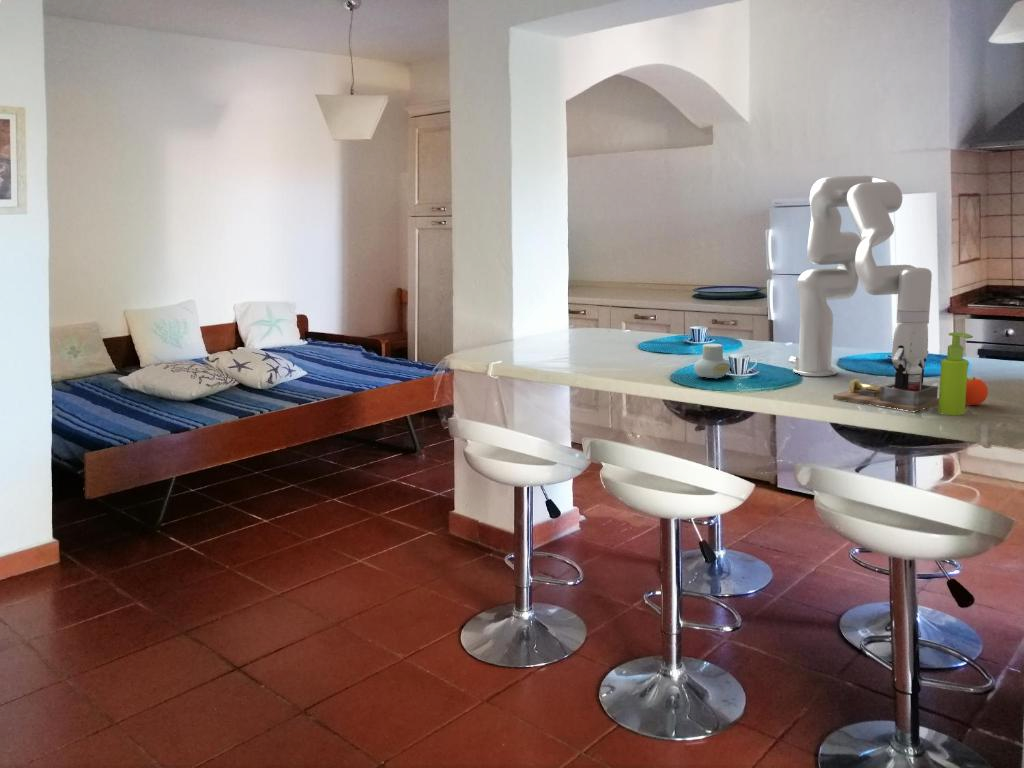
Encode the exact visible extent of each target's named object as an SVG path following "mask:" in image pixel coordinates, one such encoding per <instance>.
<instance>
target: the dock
mask: <svg viewBox="0 0 1024 768" xmlns="http://www.w3.org/2000/svg"><path fill="white" fill-rule="evenodd" d="M882 386H883V385H882ZM938 388H939V387H938V385H937V386H936V385H931V384H930V385H929V384H924V383H923V384H922V385H921V390H920V391H917V392H915V391H908V390H902V389H895V382H894V383H891V384H886V385H884V386H883V387H881V388H880V394H879V393H876V391H870V390H863V389H861V390H859V391H856V392H850V389H849V390H846V391H843V392H842V391H841V392H839V393H836V394H835V393H834V394H833V396H832V397H833V398H832V399H833V400H835V399H839V400H838V401H841V400H846V401H845V402H847V401H851V402H850V403H853V402H857V403H856V404H858V403H863V404H862V405H864V404H871V405H879V406H885V407H891V408H896V409H897V408H898V409H903V410H908V411H916V410H919V411H921V410H920V409H922V410H924V409H923V408H925V409H927V407H928V408H931V407H933V405H934V406H936V405H939V397H938V394H939V393H938V391H939V390H938ZM930 406H931V407H930Z"/></svg>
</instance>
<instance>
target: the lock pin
mask: <svg viewBox="0 0 1024 768" xmlns="http://www.w3.org/2000/svg"><path fill="white" fill-rule="evenodd" d="M860 381H861V380H860V379H858V378H855V379H852V380H851V379H850V380H849V390H850V392H856V391H859V390H861V389H863V390H870V391H876V393H879V394H880V388H881V387H883V385H877V384H870V383H865V382H864V383H862V382H860Z"/></svg>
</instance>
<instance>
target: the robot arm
mask: <svg viewBox="0 0 1024 768" xmlns="http://www.w3.org/2000/svg"><path fill="white" fill-rule="evenodd" d="M902 203H903V193H902V191H901V188H900V187H899V185H898V184H897V183H895V182H893V181H891V180H888V179H884V178H880V177H876V176H874V175H873V176H872V175H844V176H843V175H841V176H838V175H837V176H828V177H827V176H826V177H822V178H820V179H818V180H817V181H815V182H814V183H813V185H812V187H811V189H810V193H809V207H810V223H809V224H810V225H809V230H808V231H809V232H808V239H807V240H808V241H807V250H806V256H807V259H808V260H807V261H808V262H810V263H811V264H812V265H817V266H828V265H829V266H830V265H837V267H822V268H821V267H819V268H812V269H811V268H810V269H807V270H805V271H803V272H801V274H800V275H799V276H798V279H797V282H796V283H797V284H796V286H797V294H798V299H799V300H798V301H799V336H798V337H799V338H798V339H799V341H798V342H799V344H798V356H790V357H789V359H788V363H789V364H791V365H795V366H794V367H792V368H793V369H792V372H793V373H794V372H795V373H798V374H800V375H799V376H805V377H829V376H834V375H836V374H837V373H838V371H837V368H835V367H833V366H832V362H833V361H832V358H833V357H832V356H833V333H834V332H833V331H834V330H833V328H834V314H833V311H832V309H831V307H830V306H829V304H828V302H827V301H833V300H834V301H835V300H836V301H837V300H845V299H850V298H852V297H853V296H854V295H855V293H856V291H857V289H858V285H859V283H860V284H861V286H862V288H863V290H864V291H865V293H867V294H869V295H871V296H886V295H888V296H889V295H897V310H896V325H895V327H894V333H893V339H892V346H891V362H892V364H893V368H894V374H895V375H894V376H895V377H894V383H895V388H900V389H908V377H909V374H907V371H908V368H909V364H910V363H913V362H915V361H916V360H917V359H920V363H919V364H918V366H920V367H921V368H922V384H924V372H925V368H926V364H925V363H926V361H927V357H928V355H929V325H928V324H930V309H931V296H932V295H931V294H932V293H931V292H932V281H933V280H932V278H933V275H932V271H931V270H930V269H929V268H925V267H915V266H913V265H911V264H890V265H887V264H886V265H877V263H876V262H875V259H874V256H873V248H875V247H876V246H878V245H880V244H882V243H884V242H886V241H887V240H889V238H891V237H892V235H893V234H894V231H895V226H894V224H893V222H892V219H891V217H890V214H892V213H896V211H898V210H899V209H900V208H901V206H902ZM842 207H843V208H845V207H848V209H849V211H850V214H851V216H852V219H853V221H854V224H855V227H856V229H857V232H858V234H859V235H858V234H857V233H856V232H854V231H849V230H848V231H845V230H844V231H841V227H842V215H841V213H840V211H839V209H838V208H842ZM902 359H904V360H906V361H901V360H902ZM902 364H905V366H904V367H903V365H902ZM795 373H794V374H795ZM798 374H797V375H798Z"/></svg>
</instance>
